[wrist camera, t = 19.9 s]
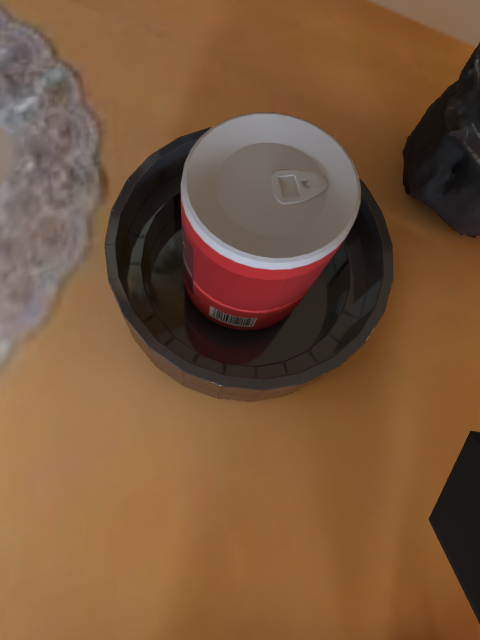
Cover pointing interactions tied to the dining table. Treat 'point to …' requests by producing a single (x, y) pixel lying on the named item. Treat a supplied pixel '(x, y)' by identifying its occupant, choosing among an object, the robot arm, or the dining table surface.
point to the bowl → (221, 342)
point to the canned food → (262, 216)
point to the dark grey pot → (449, 153)
